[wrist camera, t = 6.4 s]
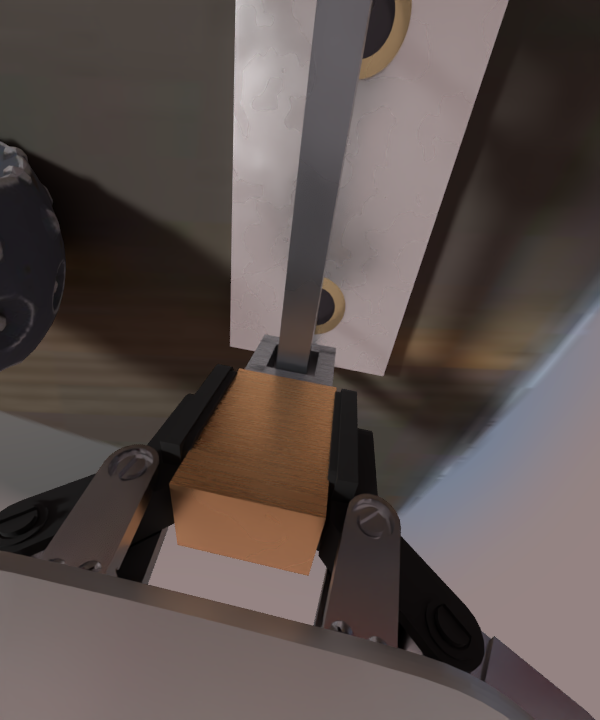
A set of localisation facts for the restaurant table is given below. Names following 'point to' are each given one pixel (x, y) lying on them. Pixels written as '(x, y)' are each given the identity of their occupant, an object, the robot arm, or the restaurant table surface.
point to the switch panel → (344, 163)
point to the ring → (26, 258)
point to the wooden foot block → (261, 465)
